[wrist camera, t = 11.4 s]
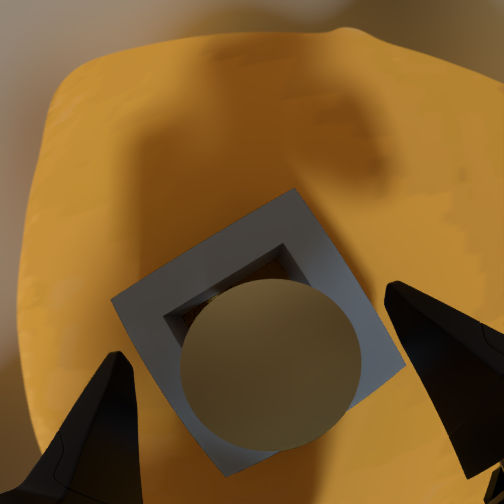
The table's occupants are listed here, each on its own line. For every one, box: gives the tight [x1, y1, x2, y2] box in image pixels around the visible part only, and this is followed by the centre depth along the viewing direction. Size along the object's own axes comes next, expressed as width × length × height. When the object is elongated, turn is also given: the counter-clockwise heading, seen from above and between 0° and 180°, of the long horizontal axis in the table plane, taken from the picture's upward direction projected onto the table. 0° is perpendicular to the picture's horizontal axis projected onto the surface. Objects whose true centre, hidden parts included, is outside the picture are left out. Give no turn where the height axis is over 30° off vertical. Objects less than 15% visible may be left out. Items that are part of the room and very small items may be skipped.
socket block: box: [110, 188, 406, 477], centre depth 15 cm, size 11×11×4 cm
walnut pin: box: [180, 279, 362, 451], centre depth 12 cm, size 4×4×11 cm
